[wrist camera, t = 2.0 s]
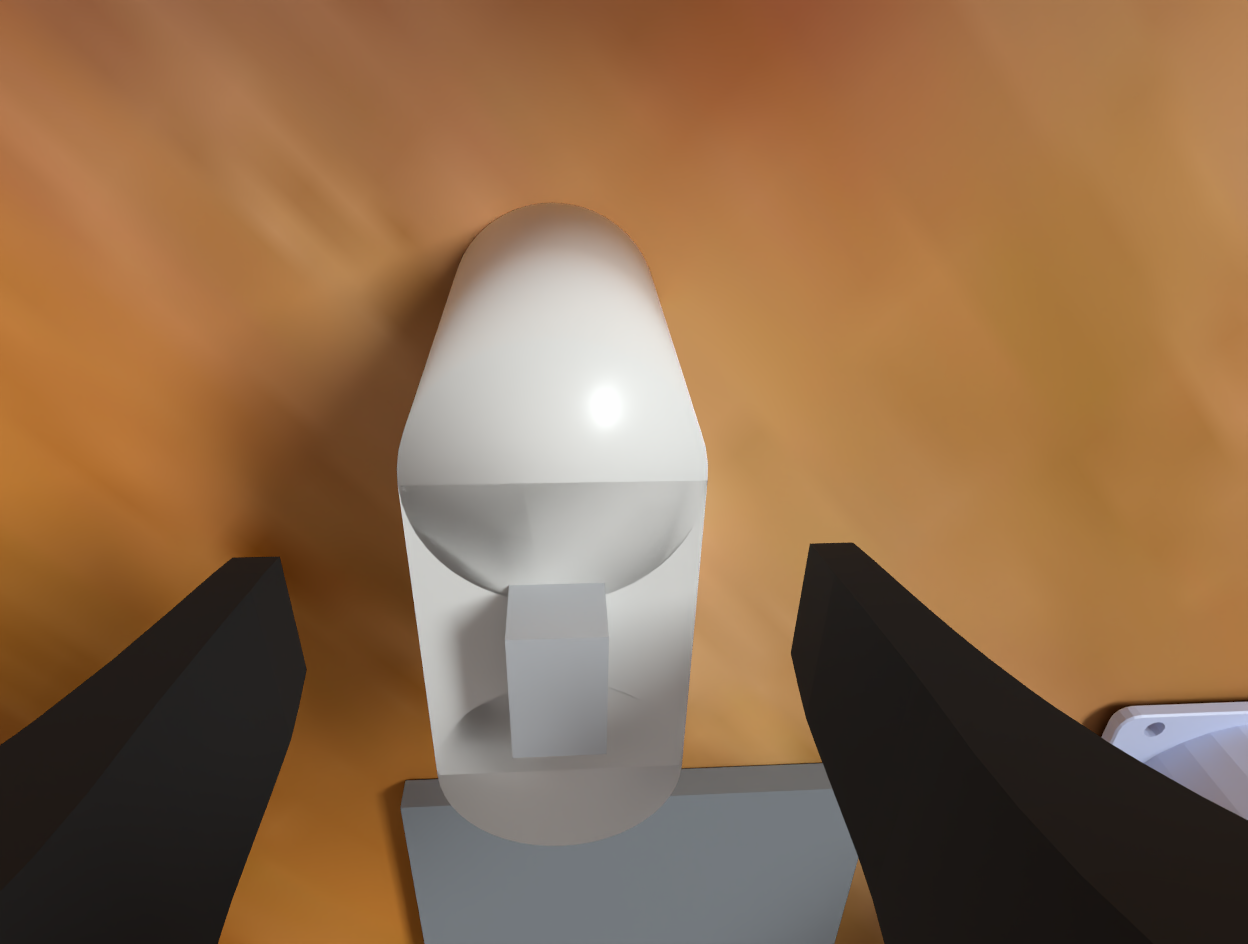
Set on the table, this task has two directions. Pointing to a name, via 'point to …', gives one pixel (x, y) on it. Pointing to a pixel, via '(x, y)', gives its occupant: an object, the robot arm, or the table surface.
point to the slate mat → (646, 868)
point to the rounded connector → (554, 532)
